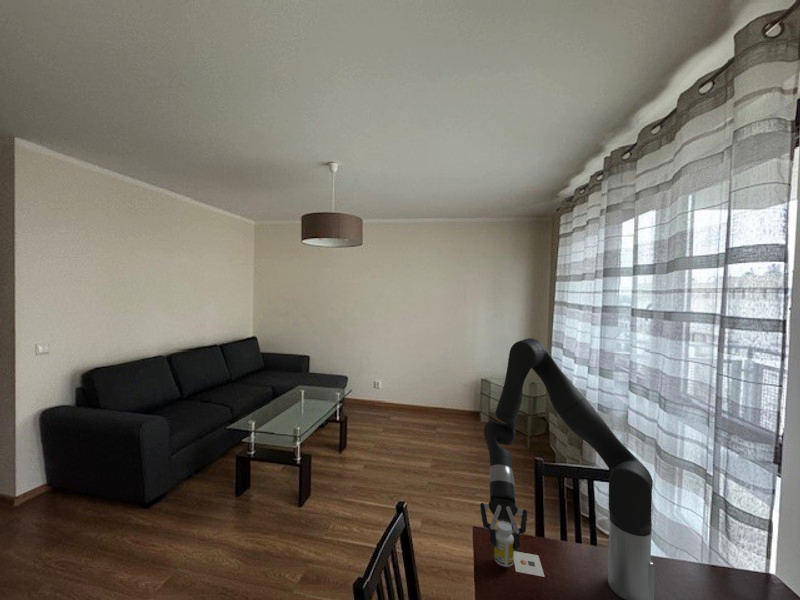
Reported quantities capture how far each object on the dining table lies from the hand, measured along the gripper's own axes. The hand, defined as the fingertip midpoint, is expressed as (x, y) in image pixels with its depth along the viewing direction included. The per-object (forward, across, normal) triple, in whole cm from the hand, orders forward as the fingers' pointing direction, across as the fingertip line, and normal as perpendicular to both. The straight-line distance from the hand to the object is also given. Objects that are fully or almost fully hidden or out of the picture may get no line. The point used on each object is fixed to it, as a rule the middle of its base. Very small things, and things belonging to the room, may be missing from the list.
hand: (504, 548), depth 92 cm
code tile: (+1, +7, +8) cm, 11 cm away
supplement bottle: (+2, 0, +5) cm, 5 cm away
